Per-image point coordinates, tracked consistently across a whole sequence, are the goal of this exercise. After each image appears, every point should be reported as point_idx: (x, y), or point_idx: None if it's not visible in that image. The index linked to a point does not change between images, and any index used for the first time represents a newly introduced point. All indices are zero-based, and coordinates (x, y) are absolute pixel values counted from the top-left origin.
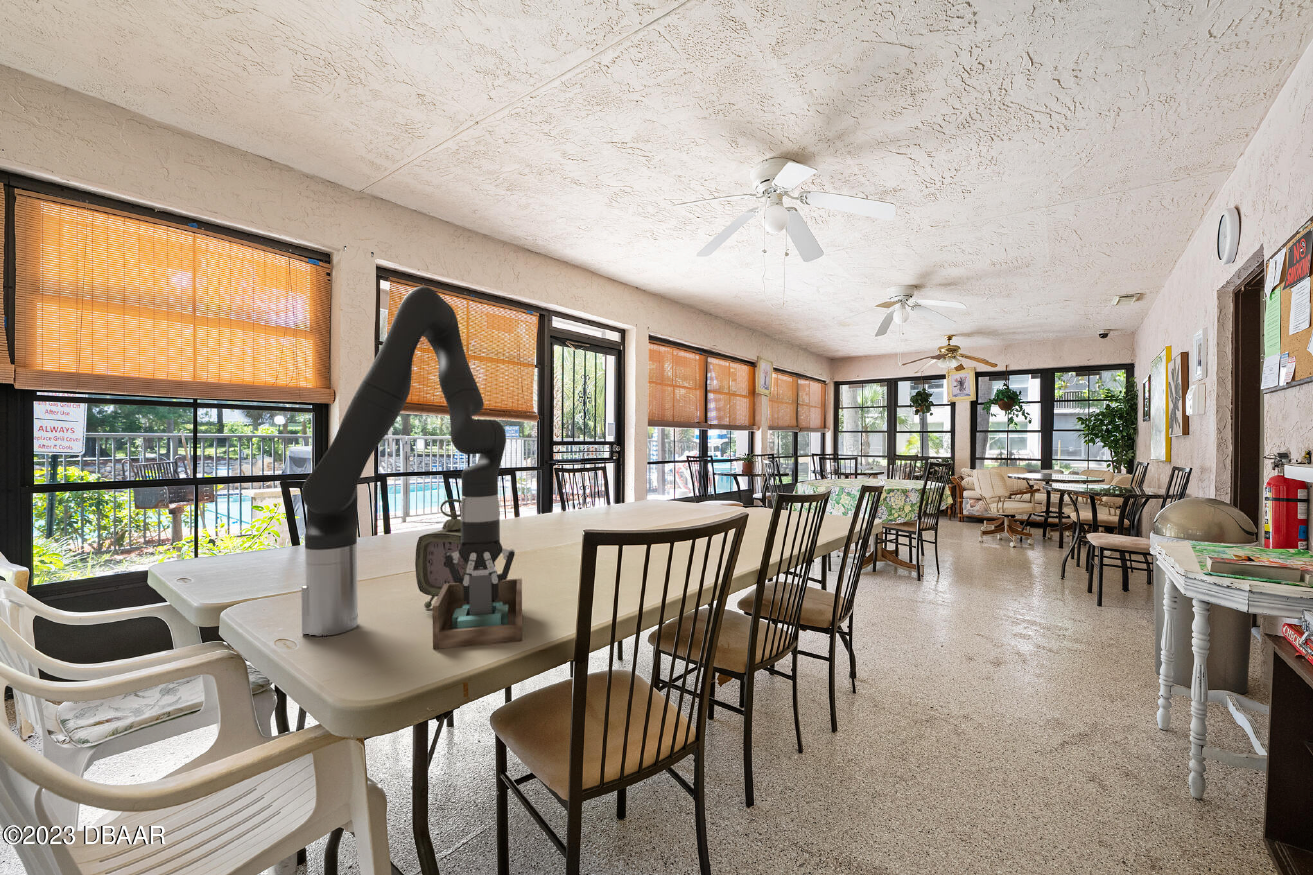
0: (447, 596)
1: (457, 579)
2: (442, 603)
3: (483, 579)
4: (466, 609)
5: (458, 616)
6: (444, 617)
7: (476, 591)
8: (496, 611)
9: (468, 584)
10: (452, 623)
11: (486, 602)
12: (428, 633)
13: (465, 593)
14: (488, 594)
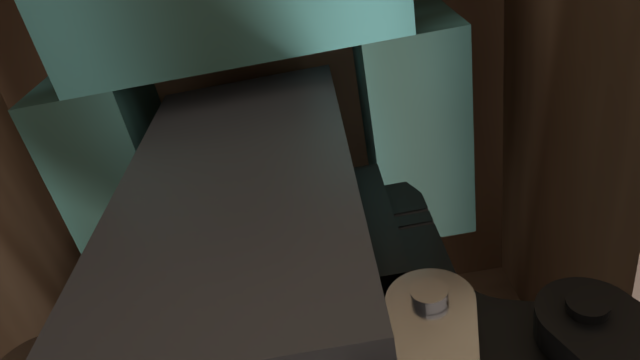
0: None
1: (581, 318)
2: (626, 51)
3: (153, 331)
4: None
5: (420, 43)
6: (535, 108)
7: (269, 200)
8: (125, 150)
9: (393, 287)
10: (454, 13)
11: (177, 154)
12: None
13: (412, 228)
14: (138, 202)
